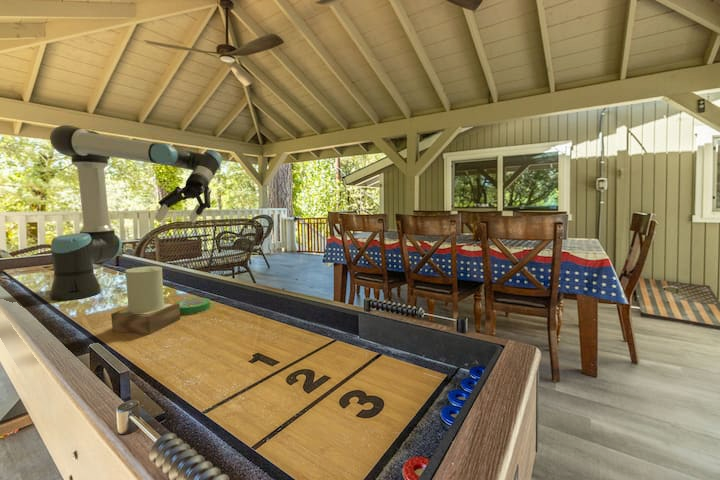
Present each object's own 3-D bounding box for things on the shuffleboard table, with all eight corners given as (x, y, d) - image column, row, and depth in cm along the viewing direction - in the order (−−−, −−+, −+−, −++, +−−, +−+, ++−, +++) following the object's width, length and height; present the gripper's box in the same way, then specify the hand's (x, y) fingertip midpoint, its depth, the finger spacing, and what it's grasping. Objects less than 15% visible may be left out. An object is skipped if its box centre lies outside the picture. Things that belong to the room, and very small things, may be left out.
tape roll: (192, 316, 108) (191, 308, 108) (166, 312, 112) (165, 305, 112) (217, 306, 118) (217, 299, 118) (193, 303, 122) (193, 296, 122)
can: (147, 313, 94) (144, 271, 93) (119, 311, 96) (116, 269, 95) (172, 304, 103) (169, 265, 102) (146, 302, 105) (143, 264, 103)
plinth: (112, 331, 95) (111, 313, 94) (146, 316, 107) (145, 300, 106) (150, 334, 93) (148, 315, 92) (180, 319, 105) (179, 303, 104)
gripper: (232, 187, 135) (211, 227, 122) (176, 187, 139) (150, 226, 126) (224, 172, 129) (201, 213, 116) (166, 173, 133) (137, 212, 120)
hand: (174, 220), depth 121 cm, fingers open, 13 cm apart
